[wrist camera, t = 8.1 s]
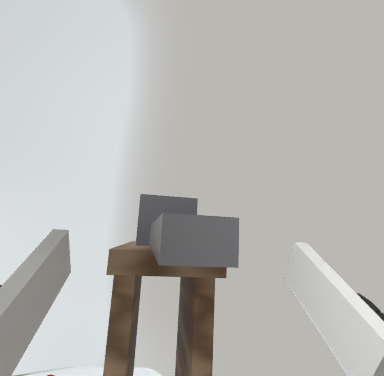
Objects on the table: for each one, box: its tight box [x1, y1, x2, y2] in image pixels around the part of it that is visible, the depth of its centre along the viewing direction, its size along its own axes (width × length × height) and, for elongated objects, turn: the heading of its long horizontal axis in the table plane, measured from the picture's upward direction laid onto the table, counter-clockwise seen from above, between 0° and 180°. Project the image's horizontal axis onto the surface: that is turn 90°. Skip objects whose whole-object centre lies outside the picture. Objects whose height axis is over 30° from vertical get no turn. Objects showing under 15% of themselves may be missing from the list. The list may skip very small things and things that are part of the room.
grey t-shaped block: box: [136, 194, 239, 268], centre depth 24 cm, size 7×25×6 cm, turn 12°
